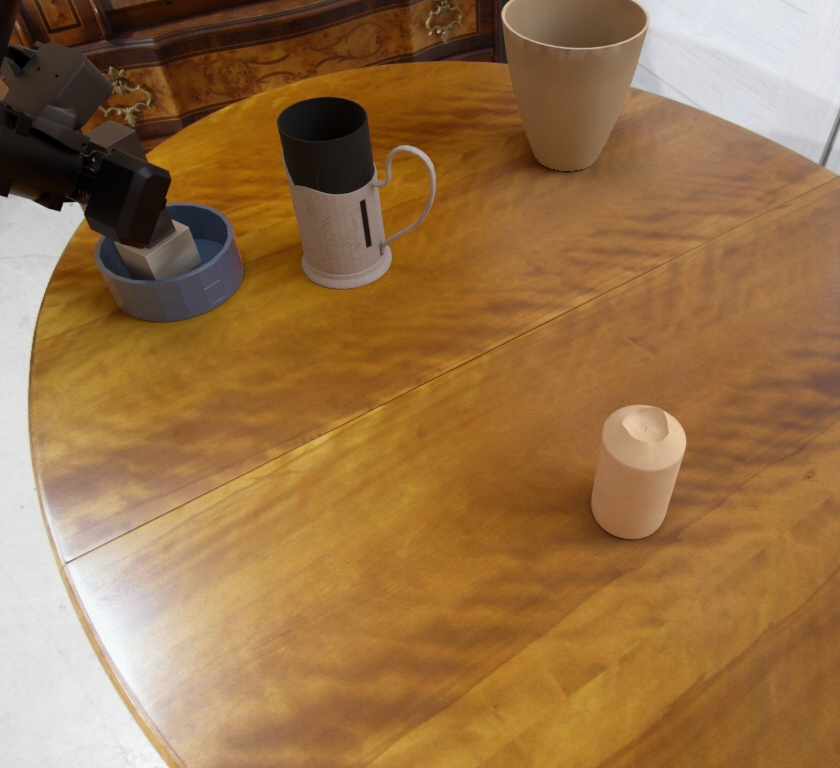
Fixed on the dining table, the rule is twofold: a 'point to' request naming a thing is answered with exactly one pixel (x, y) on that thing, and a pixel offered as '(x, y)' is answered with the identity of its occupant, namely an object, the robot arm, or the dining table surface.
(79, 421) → the dining table surface
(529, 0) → the plant pot
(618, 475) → the candle
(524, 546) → the dining table surface
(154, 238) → the dark post on base
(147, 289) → the bowl
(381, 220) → the glass holder
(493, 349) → the dining table surface
